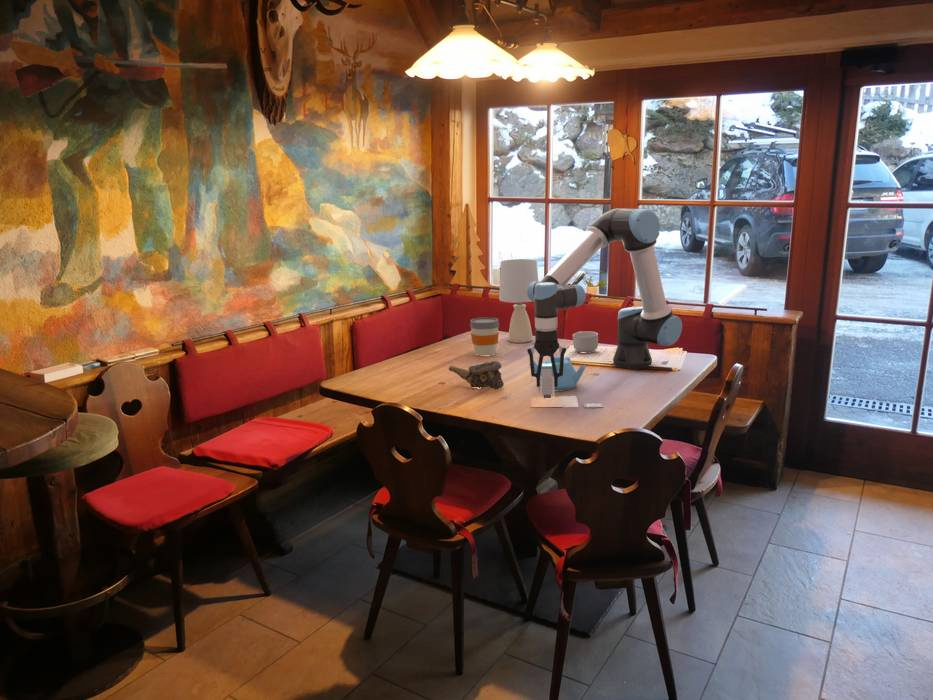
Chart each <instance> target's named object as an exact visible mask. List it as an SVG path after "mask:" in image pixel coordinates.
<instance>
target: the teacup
mask: <svg viewBox="0 0 933 700" xmlns="http://www.w3.org/2000/svg"><path fill="white" fill-rule="evenodd" d="M598 335H599V333H598V332H596V331H587V330H586V331H582V330H581V331H577V332H575V333H573V334H572V343H573V349H574V350H575V351H577V352H578V353H579V352H591V353H593V352H595V350H597V349H598V346H599V336H598Z"/></svg>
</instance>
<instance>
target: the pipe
mask: <svg viewBox="0 0 933 700" xmlns="http://www.w3.org/2000/svg"><path fill="white" fill-rule="evenodd" d="M501 368H502V364H501V362H500V361H498V360H492V361H487V362H484V363H480V364H475V365H471V366H468V369H464V368H461V367H456V366H453V365H450V366H449V367H448V371H450V372H453V373H454V374H457V375H458V376H459V377H460V378H461V379H462V380H464V381H466V382H467V383H468V384H469V386H471V387H479V388H480V387H482V388H487V387H489V388H490V389H492V388H494V389H493V390H500V389H501V388H503V387H504V381H503V378H502V373H501V372H500V371H499V370H500V369H501ZM471 387H470V388H471ZM499 388H500V389H499Z"/></svg>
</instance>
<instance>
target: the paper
mask: <svg viewBox="0 0 933 700" xmlns="http://www.w3.org/2000/svg"><path fill="white" fill-rule="evenodd" d="M558 397H559V398H558V399H560V400H561V401H563V402H559V403H561V404H565V405H564V406H565V407H564V408H579V402H578V398H577V396H575V395H570V396H569V395H568V396H567V395H566V396H560V395H559V396H558Z"/></svg>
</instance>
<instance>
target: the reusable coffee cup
mask: <svg viewBox="0 0 933 700" xmlns="http://www.w3.org/2000/svg"><path fill="white" fill-rule="evenodd" d="M469 323H470V324H469V328H470V330H471V333H470V335H471V342H472V345H473V349H474V354H478V355H492V356H494V355H493V354H495V353H496V354H497V346H498V345H497V344H498V343H499V327H500V321H499V318H497V317H477V318H472V319H470V321H469ZM496 354H495V355H496Z"/></svg>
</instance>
